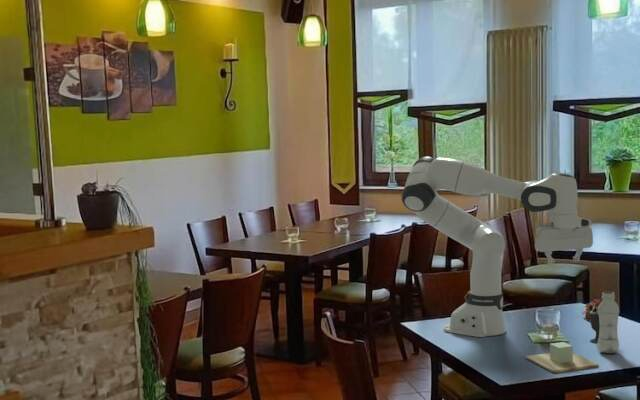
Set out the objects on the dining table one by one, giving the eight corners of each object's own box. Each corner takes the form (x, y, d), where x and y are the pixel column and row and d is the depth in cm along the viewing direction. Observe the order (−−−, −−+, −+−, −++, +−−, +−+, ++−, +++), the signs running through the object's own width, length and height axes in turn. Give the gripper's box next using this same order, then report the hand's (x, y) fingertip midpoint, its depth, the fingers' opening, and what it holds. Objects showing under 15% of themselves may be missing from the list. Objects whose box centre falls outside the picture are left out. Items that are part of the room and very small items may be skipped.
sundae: (609, 344, 263) (609, 301, 262) (588, 344, 265) (588, 300, 263) (606, 339, 270) (606, 296, 268) (586, 338, 271) (586, 296, 270)
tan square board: (553, 373, 236) (553, 370, 236) (525, 358, 251) (525, 356, 251) (598, 366, 240) (598, 364, 240) (568, 352, 256) (568, 350, 256)
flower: (613, 312, 298) (601, 295, 300) (611, 313, 290) (599, 295, 292) (591, 325, 301) (579, 308, 303) (589, 326, 292) (577, 308, 295)
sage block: (558, 363, 243) (558, 347, 242) (549, 358, 247) (549, 343, 247) (572, 361, 244) (572, 346, 243) (563, 357, 249) (563, 341, 248)
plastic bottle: (597, 349, 259) (597, 290, 257) (619, 350, 256) (619, 291, 254) (596, 354, 253) (596, 294, 251) (619, 356, 250) (619, 295, 248)
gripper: (541, 225, 251) (541, 267, 252) (595, 220, 256) (595, 261, 258) (530, 222, 257) (531, 264, 258) (584, 218, 262) (584, 258, 264)
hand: (563, 262), depth 258 cm, fingers open, 8 cm apart
